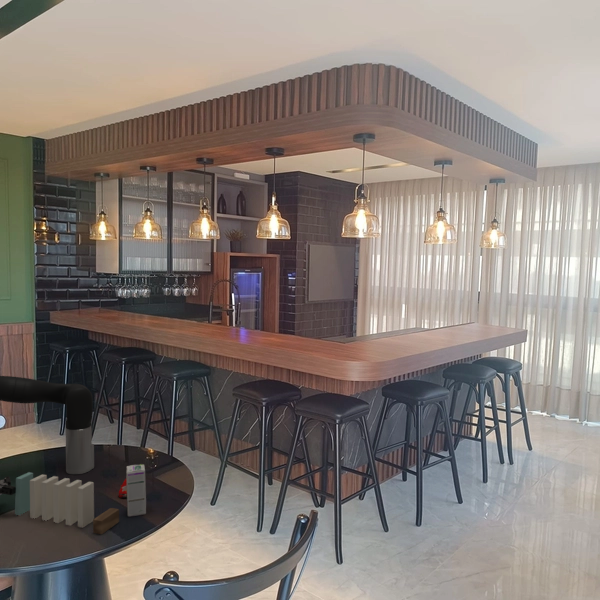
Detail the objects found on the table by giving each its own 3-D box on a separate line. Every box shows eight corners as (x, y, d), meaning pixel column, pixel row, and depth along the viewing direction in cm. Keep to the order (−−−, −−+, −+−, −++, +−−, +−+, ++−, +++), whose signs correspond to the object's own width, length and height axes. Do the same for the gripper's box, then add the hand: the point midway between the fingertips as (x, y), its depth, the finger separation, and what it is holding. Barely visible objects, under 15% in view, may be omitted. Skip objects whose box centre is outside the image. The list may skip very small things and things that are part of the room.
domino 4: (53, 522, 155) (53, 484, 155) (65, 515, 160) (65, 477, 159) (58, 523, 155) (57, 484, 154) (70, 515, 159) (69, 478, 159)
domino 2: (30, 518, 158) (29, 480, 157) (42, 510, 163) (42, 474, 162) (34, 518, 157) (34, 481, 157) (47, 511, 162) (46, 475, 162)
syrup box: (146, 514, 161) (146, 469, 160) (126, 517, 159) (126, 472, 158) (145, 506, 166) (145, 463, 166) (126, 509, 164) (126, 465, 164)
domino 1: (14, 514, 160) (16, 477, 159) (27, 507, 164) (28, 472, 164) (19, 516, 159) (20, 479, 158) (31, 509, 164) (33, 473, 163)
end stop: (93, 532, 149) (93, 519, 149) (110, 520, 157) (110, 507, 157) (101, 534, 148) (101, 521, 148) (119, 521, 156) (118, 509, 156)
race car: (133, 499, 172) (133, 488, 172) (116, 500, 172) (116, 488, 171) (140, 483, 185) (140, 472, 185) (125, 484, 185) (125, 473, 184)
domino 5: (65, 524, 154) (65, 486, 153) (77, 517, 159) (76, 479, 158) (70, 525, 153) (70, 486, 153) (82, 518, 158) (81, 480, 158)
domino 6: (77, 526, 153) (77, 488, 152) (89, 519, 157) (88, 481, 157) (82, 527, 152) (82, 488, 152) (94, 520, 157) (93, 482, 156)
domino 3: (41, 520, 157) (41, 482, 156) (54, 513, 161) (53, 476, 161) (46, 521, 156) (46, 483, 155) (58, 513, 161) (58, 476, 160)
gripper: (-48, 480, 157) (-5, 487, 152) (-10, 465, 170) (31, 471, 165) (-47, 503, 158) (-4, 512, 152) (-10, 487, 170) (31, 494, 165)
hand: (14, 491), depth 159 cm, fingers closed
